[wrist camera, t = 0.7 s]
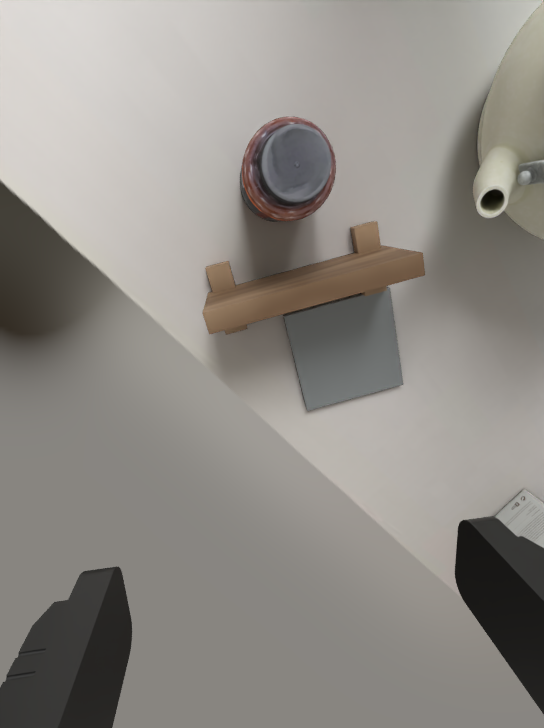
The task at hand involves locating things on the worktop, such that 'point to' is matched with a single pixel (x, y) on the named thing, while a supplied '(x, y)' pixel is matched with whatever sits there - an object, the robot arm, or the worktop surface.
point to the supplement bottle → (287, 170)
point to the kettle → (515, 134)
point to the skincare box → (525, 517)
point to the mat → (345, 348)
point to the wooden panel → (308, 282)
